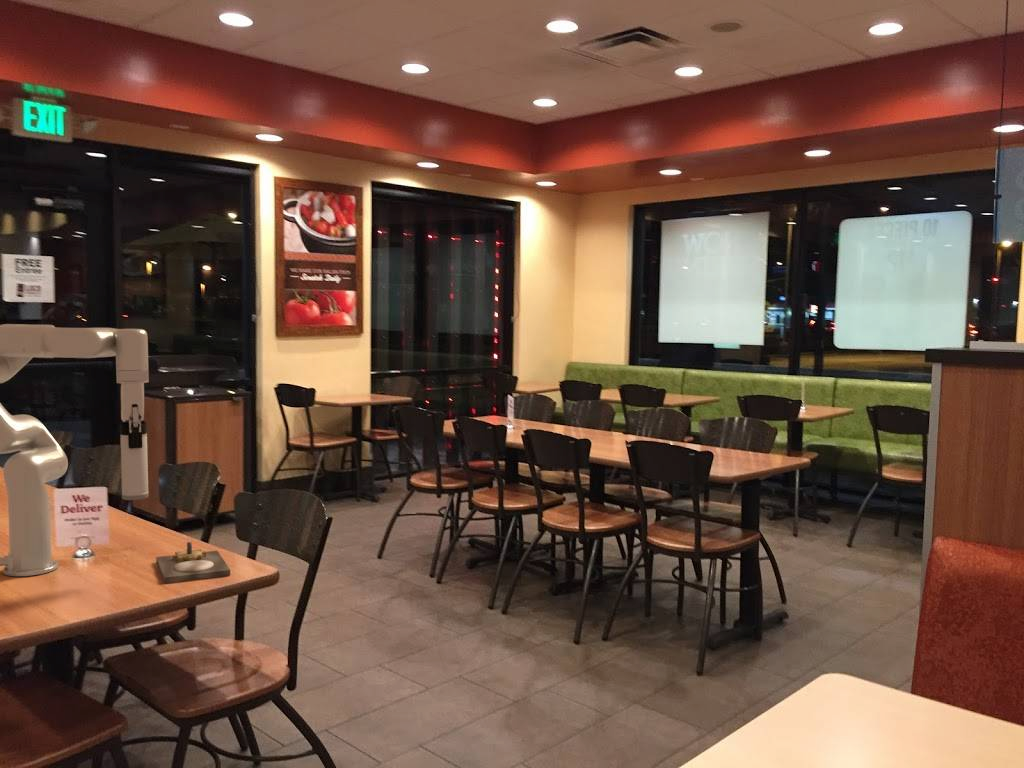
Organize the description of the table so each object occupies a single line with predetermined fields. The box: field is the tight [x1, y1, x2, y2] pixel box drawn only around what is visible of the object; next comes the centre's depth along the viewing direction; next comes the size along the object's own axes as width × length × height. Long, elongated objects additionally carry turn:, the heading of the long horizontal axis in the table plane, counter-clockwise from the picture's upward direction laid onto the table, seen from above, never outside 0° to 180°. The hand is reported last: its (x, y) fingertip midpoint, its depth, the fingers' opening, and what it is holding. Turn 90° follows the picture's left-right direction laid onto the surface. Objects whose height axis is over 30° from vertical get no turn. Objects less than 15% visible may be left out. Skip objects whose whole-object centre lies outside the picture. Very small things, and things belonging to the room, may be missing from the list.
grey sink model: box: [155, 541, 231, 584], centre depth 225 cm, size 16×20×6 cm
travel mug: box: [119, 419, 149, 501], centre depth 217 cm, size 6×7×20 cm
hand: (134, 445), depth 217 cm, fingers closed on travel mug, 6 cm apart
